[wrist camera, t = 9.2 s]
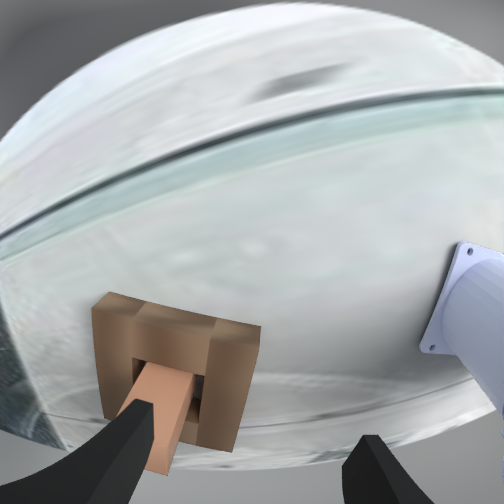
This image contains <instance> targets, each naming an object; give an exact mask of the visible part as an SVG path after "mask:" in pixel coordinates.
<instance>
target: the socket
mask: <svg viewBox="0 0 504 504" xmlns="http://www.w3.org/2000/svg"><path fill="white" fill-rule="evenodd" d="M91 309H92V325H93V338H94V349H95V359H96V367H97V375H98V382H99V389H100V396H101V402H102V408H103V413H104V418H105V419H108V420H111V421H112V420H113V419H115V418H116V416H117V414H118V413H119V411H120V409H121V407H122V405H123V404H124V402H125V400H126V398H127V396H128V395H129V393H130V391H131V389H132V387H133V386H134V384H135V382H136V380H137V379H138V377H139V375H140V373H141V372H142V370H143V368H144V366H145V361H147V362H151V363H154V364H158V365H162V366H165V367H169V368H173V369H177V370H181V371H185V372H189V373H194V374H198V375H202V376H205V378H204V385H203V392H202V400H201V399H197V398H192V400H191V403H190V406H189V409H188V412H187V415H186V419H185V422H184V425H183V428H182V431H181V434H180V437H179V442H183V443H187V444H192V445H196V446H200V447H205V448H210V449H215V450H220V451H225V452H231V453H232V451H233V447H234V443H235V440H236V436H237V432H238V429H239V425H240V421H241V418H242V414H243V410H244V406H245V403H246V399H247V395H248V391H249V387H250V383H251V379H252V376H253V372H254V368H255V364H256V360H257V356H258V352H259V344H260V331H261V326H256V325H251V324H245V323H240V322H235V321H230V320H225V319H221V318H216V317H211V316H207V315H202V314H197V313H193V312H189V311H184V310H180V309H176V308H171V307H167V306H163V305H159V304H155V303H151V302H147V301H143V300H139V299H135V298H131V297H127V296H124V295H120V294H116V293H113V292H109V293H108V294H107V295H105V296H104V297H103V298H102V299H101V300H100V301H99V302H98V303H97V304H96V305H94V306H93V307H92V308H91Z"/></svg>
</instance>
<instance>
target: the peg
mask: <svg viewBox="0 0 504 504" xmlns="http://www.w3.org/2000/svg"><path fill="white" fill-rule="evenodd" d="M196 378H197V374H194V373H189V372H185V371H181V370H177V369H173V368H169V367H165V366H162V365H158V364H154V363H151V362H147V363H146V365H145V366H144V368H143V370H142V372H141V373H140V375H139V377H138V379H137V380H136V382H135V384H134V386H133V387H132V389H131V391H130V393H129V395H128V396H127V398H126V400H125V402H124V404H123V405H122V407H121V409H120V411H119V413H118V414H117V416H118V415H119V414H120V413H121V412H122V411H123V410H124V409H125V408H126V407H127V406H128V405H129V404H130V403H131V402H132V401H133V400H134V399H136V398H137V399H140V400H144V401H147V402H150V403H153V406H154V442H153V445H152V448H151V451H150V455H149V458H148V461H147V463H146V466H145V468H144V469H146V470H149V471H152V472H155V473H159V474H162V475H166V476H168V472H169V469H170V466H171V463H172V460H173V456H174V453H175V450H176V447H177V444H178V441H179V437H180V434H181V431H182V428H183V425H184V422H185V419H186V415H187V412H188V409H189V406H190V403H191V400H192V397H193V394H194V390H195V387H196ZM117 416H116V417H117Z"/></svg>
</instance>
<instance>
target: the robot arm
mask: <svg viewBox="0 0 504 504" xmlns="http://www.w3.org/2000/svg"><path fill="white" fill-rule="evenodd" d="M469 248H470V252H469V253H468V254H467V251H468V249H469ZM431 345H433V346H432V347H431V348H430V346H431ZM419 349H420V350H421V352H423V353H431V354H445V355H456V356H457V357H458V358H459V360H460V361H461V362H462V363H463V365H464V366H465V367H466V368H467V370H468V371H469V372H470V374H471V375H472V376H473V378H474V379H475V380H476V382H477V383H478V384H479V386H480V387H481V388H482V390H483V391H484V392H485V394H486V395H487V397H488V398H489V399H490V401H491V402H492V404H493V405H494V406H495V408H496V409H497V411H498V412H499V413H500V415H501V416H502V418H503V419H504V254H502V253H499V252H496V251H493V250H490V249H487V248H484V247H481V246H478V245H475V244H472V243H469V242H465V241H461V242H460V243H459V244H458V245H457V247H456V251H455V254H454V257H453V260H452V263H451V266H450V269H449V272H448V275H447V278H446V281H445V284H444V286H443V289H442V292H441V294H440V297H439V300H438V302H437V305H436V307H435V310H434V312H433V315H432V317H431V320H430V322H429V324H428V327H427V329H426V331H425V333H424V336H423V338H422V340H421V342H420V345H419ZM501 435H502V436H503V438H504V429H503V430H502V432H501ZM153 442H154V406H153V403H150V402H147V401H144V400H140V399H137V398H136V399H134V400H133V401H132V402H131V403H130V404H129V405H128V406H127V407H126V408H125V409H124V410H123V411H122V412H121V413H120V414H119V415H118V416H117V417H116V418H115V419H113V420H112V421H111V422H110V423H109V424H108V425H107V426H106V427H104V428H103V429H102V430H101V431H100V432H99V433H97V434H96V435H95V436H94V437H93V438H91V439H90V440H89V441H87V442H86V443H85V444H83V445H82V446H81V447H79V448H78V449H76V450H75V451H74V452H72V453H71V454H69V455H68V456H66V457H64V458H63V459H61V460H59V461H58V462H56V463H55V464H53V465H51V466H49V467H47V468H45V469H43V470H41V471H39V472H37V473H35V474H33V475H30V476H28V477H25V478H22V479H20V480H17V481H14V482H11V483H8V484H5V485H1V486H0V504H128V503H129V501H130V498H131V496H132V494H133V492H134V490H135V488H136V485H137V483H138V481H139V479H140V477H141V475H142V472H143V470H144V468H145V466H146V463H147V461H148V458H149V455H150V451H151V448H152V445H153ZM502 478H503V482H504V457H503V461H502ZM342 488H343V489H342V490H343V496H344V503H345V504H434V503H433V502H432V501H431V500H430V499H429V498H428V497H427V496H426V495H425V493H424V492H423V491H422V490H421V489H420V488H419V487H418V486H417V484H416V483H415V482H414V481H413V480H412V479H411V477H410V476H409V475H408V474H407V472H406V471H405V470H404V469H403V467H402V466H401V465H400V463H399V462H398V461H397V459H396V458H395V457H394V455H393V454H392V453H391V451H390V450H389V448H388V447H387V446H386V444H385V443H384V442H383V440H382V439H381V438H380V437H379V435H363V436H362V437H361V439H360V440H359V442H358V443H357V445H356V446H355V448H354V449H353V451H352V452H351V454H350V455H349V457H348V458H347V460H346V461H345V462H344V464H343V465H342Z"/></svg>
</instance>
